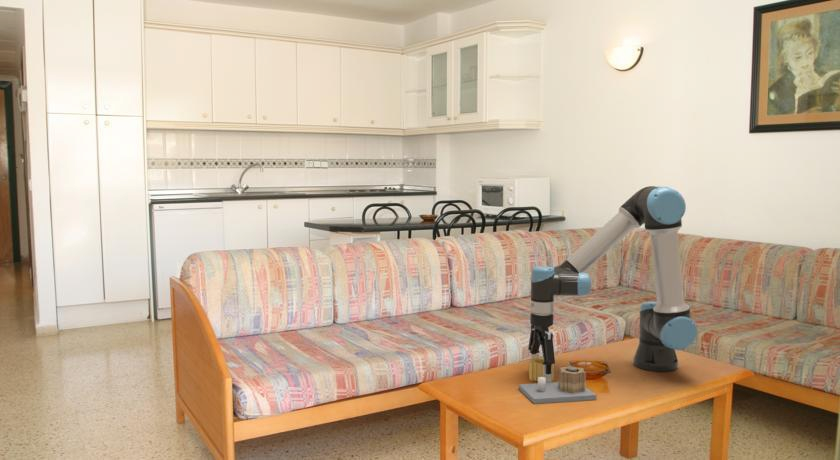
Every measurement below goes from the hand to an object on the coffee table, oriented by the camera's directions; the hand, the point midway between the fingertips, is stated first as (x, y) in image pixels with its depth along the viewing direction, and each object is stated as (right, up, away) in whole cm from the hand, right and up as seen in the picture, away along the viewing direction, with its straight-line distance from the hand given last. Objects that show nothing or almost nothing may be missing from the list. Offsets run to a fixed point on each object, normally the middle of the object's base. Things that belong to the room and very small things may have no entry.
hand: (540, 377), depth 230 cm
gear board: (+2, -2, -16) cm, 16 cm away
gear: (+7, 0, -15) cm, 17 cm away
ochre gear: (0, 0, 0) cm, 0 cm away
